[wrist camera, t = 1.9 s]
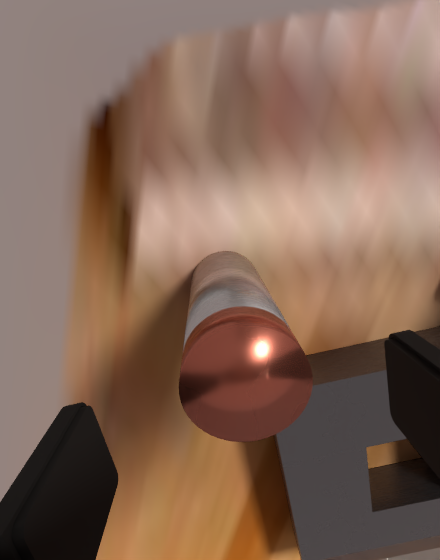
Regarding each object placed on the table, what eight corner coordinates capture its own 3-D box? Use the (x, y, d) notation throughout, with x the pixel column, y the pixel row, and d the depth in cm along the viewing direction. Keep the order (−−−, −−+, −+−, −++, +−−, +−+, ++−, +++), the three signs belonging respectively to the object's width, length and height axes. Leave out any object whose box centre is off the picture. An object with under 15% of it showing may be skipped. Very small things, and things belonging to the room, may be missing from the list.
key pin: (184, 259, 18) (162, 343, 9) (251, 244, 18) (303, 313, 9) (200, 321, 20) (196, 453, 10) (263, 307, 20) (320, 426, 10)
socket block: (259, 365, 21) (268, 395, 18) (502, 312, 20) (551, 334, 18) (294, 533, 26) (305, 578, 23) (491, 493, 25) (528, 533, 22)
